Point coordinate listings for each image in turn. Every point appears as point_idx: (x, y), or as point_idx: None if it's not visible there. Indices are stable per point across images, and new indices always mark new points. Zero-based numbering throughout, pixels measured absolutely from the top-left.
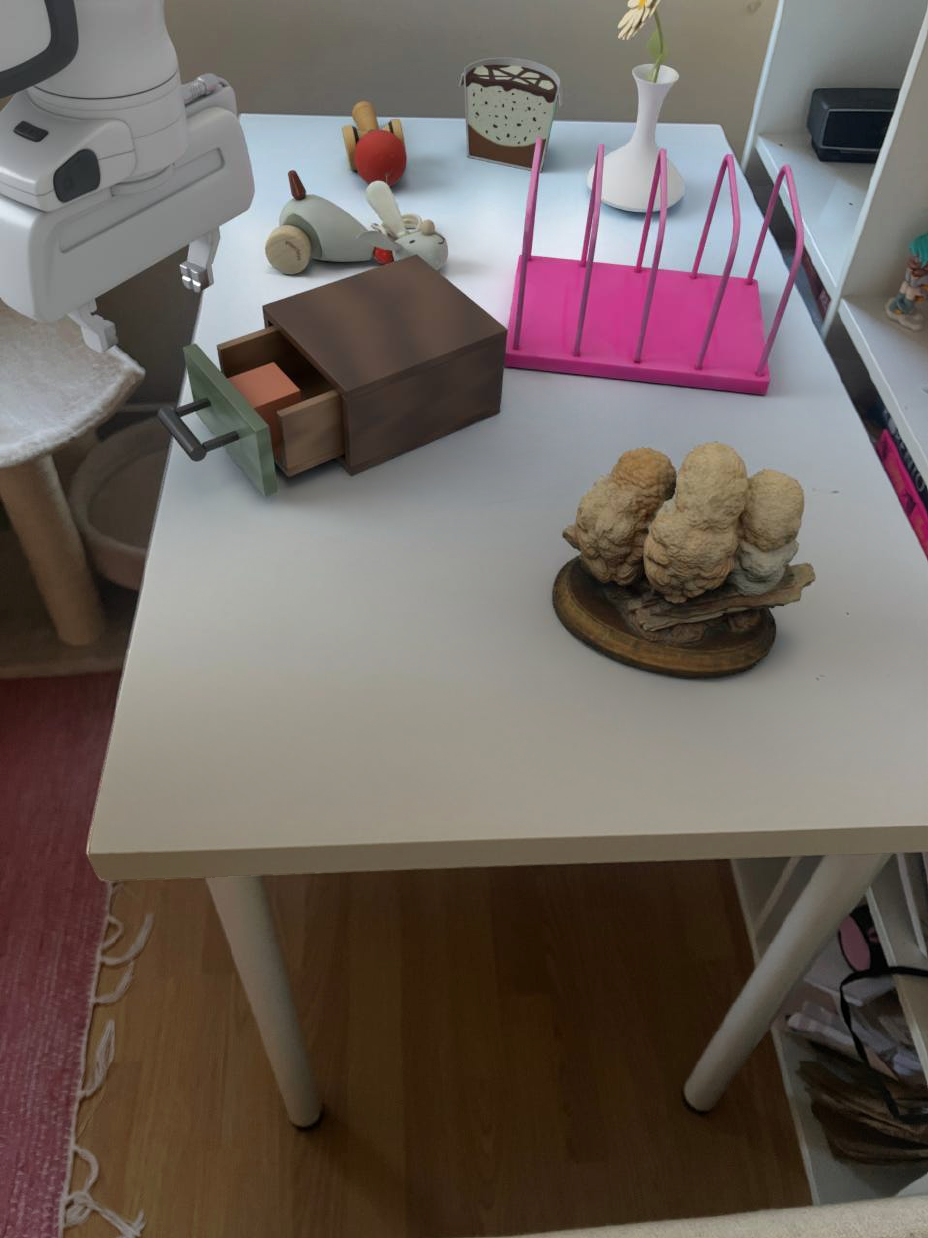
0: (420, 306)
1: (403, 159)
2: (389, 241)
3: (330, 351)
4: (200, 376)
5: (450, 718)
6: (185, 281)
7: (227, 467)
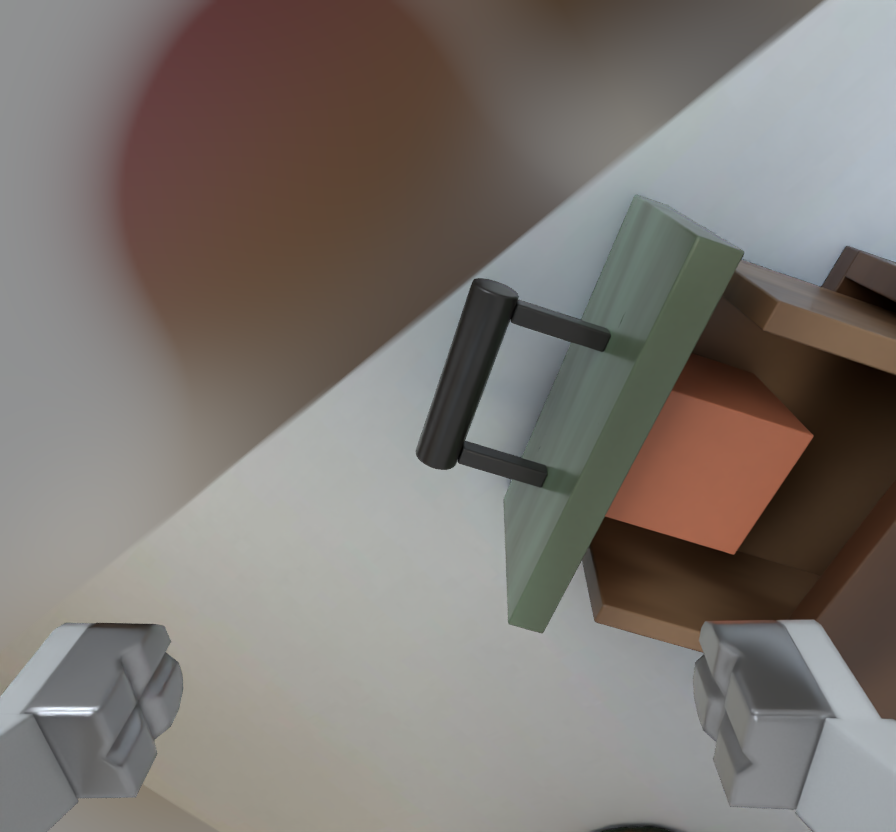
0: None
1: None
2: None
3: (876, 624)
4: (631, 338)
5: (370, 820)
6: (711, 654)
7: (543, 359)
